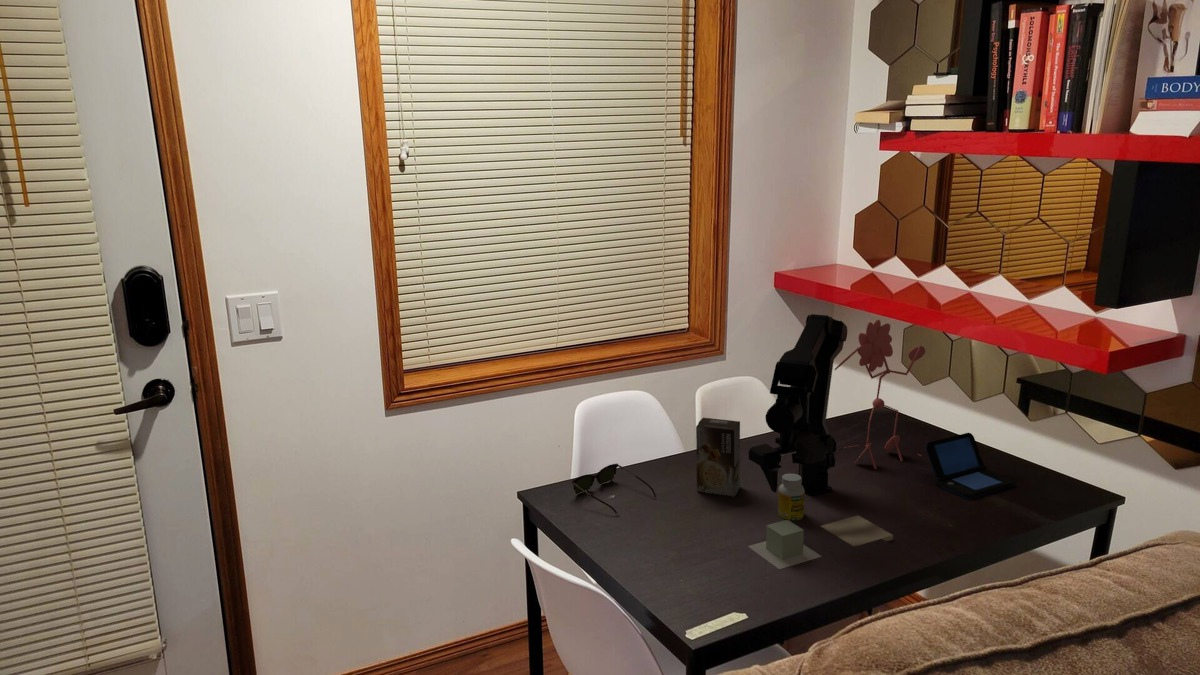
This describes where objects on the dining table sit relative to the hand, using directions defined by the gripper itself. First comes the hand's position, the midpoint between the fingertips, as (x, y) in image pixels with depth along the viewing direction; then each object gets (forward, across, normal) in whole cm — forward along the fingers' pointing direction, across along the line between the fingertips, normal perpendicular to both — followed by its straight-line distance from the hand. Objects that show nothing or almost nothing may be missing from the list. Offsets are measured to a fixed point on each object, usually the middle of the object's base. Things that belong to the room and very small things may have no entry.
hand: (791, 487), depth 178 cm
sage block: (+6, -11, -12) cm, 18 cm away
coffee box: (+8, -5, +20) cm, 22 cm away
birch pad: (+7, +7, -12) cm, 16 cm away
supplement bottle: (+7, 0, 0) cm, 7 cm away
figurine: (+8, +38, +18) cm, 43 cm away
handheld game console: (+8, +47, -5) cm, 48 cm away
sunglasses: (+8, -28, +27) cm, 40 cm away
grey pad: (+7, -11, -12) cm, 18 cm away
